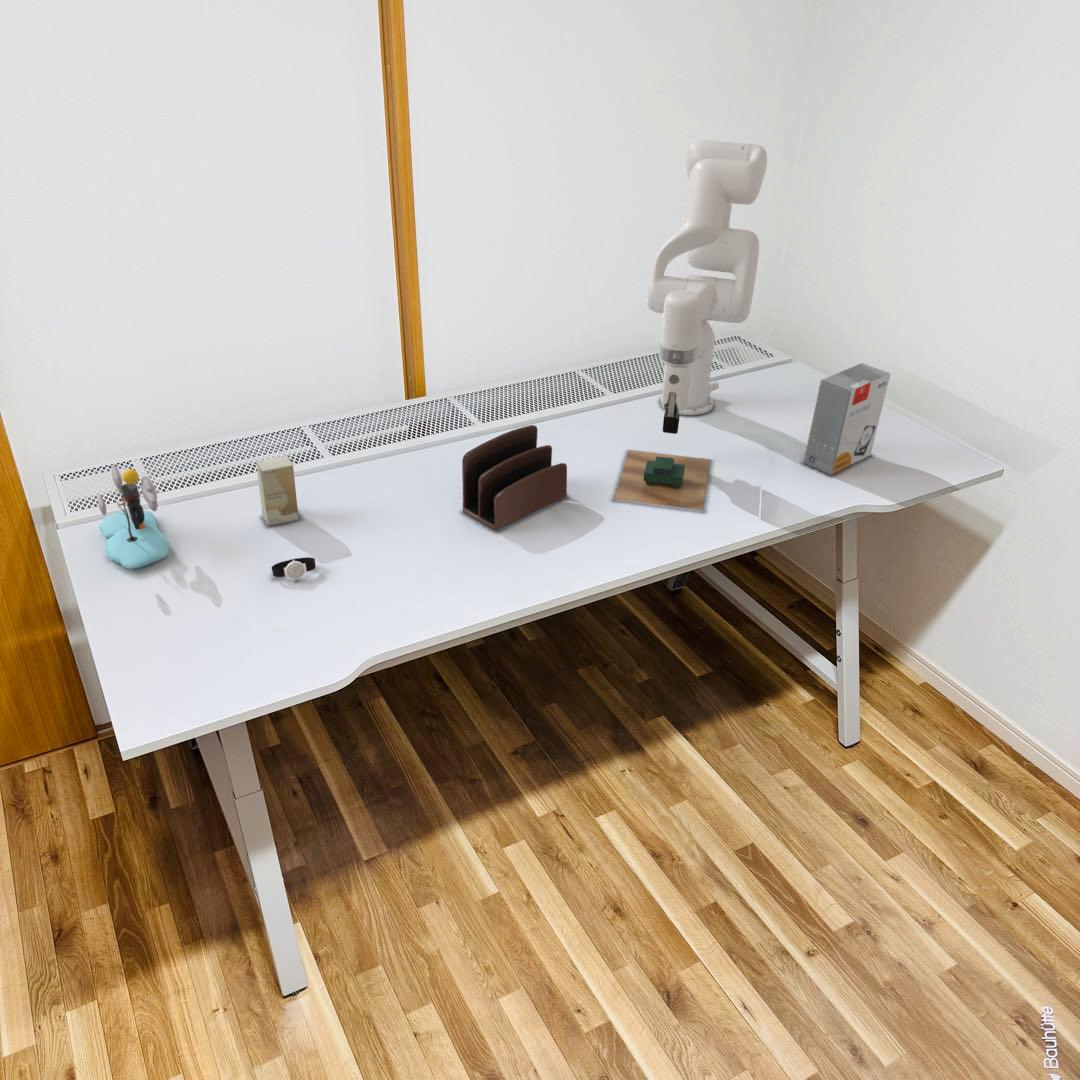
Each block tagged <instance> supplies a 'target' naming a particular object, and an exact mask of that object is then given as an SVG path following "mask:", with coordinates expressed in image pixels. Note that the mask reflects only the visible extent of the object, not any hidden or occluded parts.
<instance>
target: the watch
mask: <svg viewBox="0 0 1080 1080" xmlns="http://www.w3.org/2000/svg"><path fill="white" fill-rule="evenodd" d="M315 569H316V559H315V558H314V557H310V556H309V557H307V556H306V557H298V558H292V559H288V560H284V561H280V562H277V563H275V564H273V565H272V566H271V572H272V576H273V577H274V578H281V577H282V578H284V577H286V578H290V579H292V580H298V579H300V578H302V577H303V576H304V574H305V573H307V572H308V573H309V572H310V571H311V572H312V571H314V570H315Z"/></svg>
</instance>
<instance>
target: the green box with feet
mask: <svg viewBox="0 0 1080 1080" xmlns="http://www.w3.org/2000/svg"><path fill="white" fill-rule="evenodd" d="M684 470H685V465H682V464H674V458H667V457H659V456H656V459H655V461H649V460H647V464H646V468H645V471H644V480H643V481H646V484H647V485H648V486H652V485H654V482H656V483H664V484H671V487H672V488H673V489H677V488H679V485H680V486H682V482H683V477H684Z"/></svg>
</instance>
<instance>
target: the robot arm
mask: <svg viewBox="0 0 1080 1080" xmlns="http://www.w3.org/2000/svg"><path fill="white" fill-rule="evenodd" d="M767 166H768V154H767V151H766V149H765V148H764V147H763V146H762V145H760V144H756V143H755V144H753V143H743V142H730V141H721V140H700V141H695V142H692V143H690V145H689V146H688V147H687V150H686V154H685V167H686V175H687V180H688V185H687V189H686V194H685V199H684V205H683V211H682V216H681V222H680V226H679V228H678V230H677V231H676V232H674V233H673V234H672V235H670V236H669V237H668V238H667V239H666V240H665V242H663V243H662V245H660V247H659V249H658V250H657V251H656V254H655V256H654V257H653V260H652V263H651V266H650V271H649V277H648V282H647V287H646V293H645V294H646V296H645V301H646V306H647V308H648V309H649V310H650V311H652V312H654V313H657V314H663V315H662V325H661V335H660V344H659V345H660V348H659V356H658V358H659V361H660V362H661V363H663V365H664V366H663V375H662V376H663V377H662V390H661V398H660V404H661V408H662V409H663V410H664V414H663V420H662V421H663V422H662V433H664V434H672V435H673V434H674V435H677V434H678V431H679V425H680V424H679V423H680V416H681V415H683V416H699V415H703V414H704V415H705V414H706V413H708V412H710V411H712V409H713V407H714V401H713V399H712V398H711V397H710V394H711V393H712V392H713V391H716V390H718V389H719V388H720V384H719V382H718V381H712V382H711V383H710V379H711V374H712V373H711V372H712V364H713V356H714V350H715V349H714V348H715V340H716V339H715V333H714V330H713V329H712V326H711V324H710V323H709V321H710V322H711V321H714V322H720V323H721V322H722V323H731V324H741V323H744V322H745V321H746V320H747V319H748V318H749V316H750V315H749V314H750V312H751V308H752V302H753V296H754V291H755V290H754V289H755V284H756V276H757V269H758V265H759V264H758V263H759V255H760V241H759V237H758V235H757V234H756V233H755V232H754V231H752V230H749V229H739V228H731V227H730V221H731V215H732V209H733V205H732V204H735V205H748V206H749V205H752V204H754V203H755V202H756V200H757V198H758V197H759V194H760V191H761V189H762V185H763V181H764V178H765V175H766V172H767V169H768V167H767ZM683 254H686V257H687V258H686V259H687V263H688V264H689V266H690V267H692V268H694V269H698V270H703V271H711V272H719V273H727V274H728V273H729V274H732V275H733V276H734V278H735V279H732V278H723V277H717V276H708V275H707V276H706V275H687V276H684V277H678V276H669V275H665V273H666V269H667V267H668V266H669V264H670V263H671V262H672V261H673V260H674V259H675V258H677V257H679V256H681V255H683Z"/></svg>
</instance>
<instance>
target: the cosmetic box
mask: <svg viewBox="0 0 1080 1080" xmlns="http://www.w3.org/2000/svg"><path fill="white" fill-rule="evenodd" d="M255 464H256V473H257V481H258V488H259V496H260V497H259V498H260V504H261V513H262V517H263V519H264V521H265V523H266V525H267V526H274V525H279V524H283V523H284V524H285V523H289V522H293V521H298V520H299V519H300V518H299V509H298V499H297V491H296V490H297V489H296V480H295V470H294V464H293V462H292V460H291V458H290V457H289V456H288V455H285V456H279V457H272V458H271V457H270V458H267V459H263V460H255Z"/></svg>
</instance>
